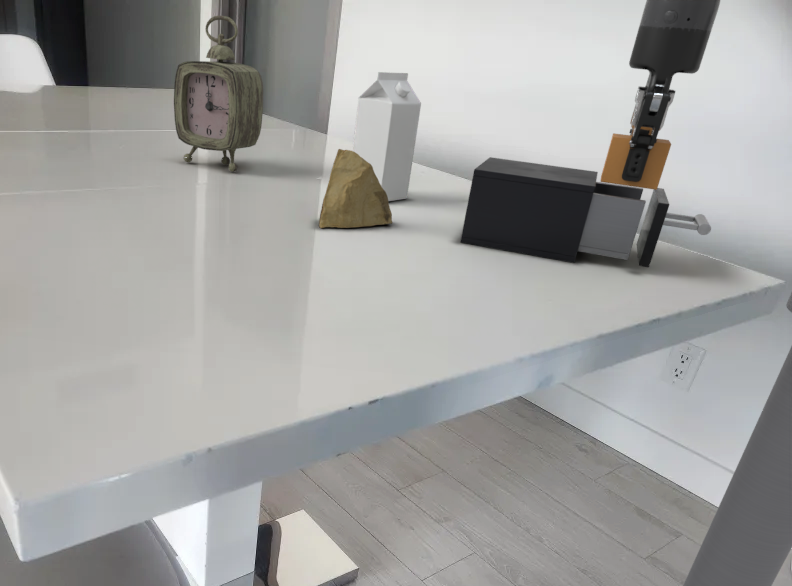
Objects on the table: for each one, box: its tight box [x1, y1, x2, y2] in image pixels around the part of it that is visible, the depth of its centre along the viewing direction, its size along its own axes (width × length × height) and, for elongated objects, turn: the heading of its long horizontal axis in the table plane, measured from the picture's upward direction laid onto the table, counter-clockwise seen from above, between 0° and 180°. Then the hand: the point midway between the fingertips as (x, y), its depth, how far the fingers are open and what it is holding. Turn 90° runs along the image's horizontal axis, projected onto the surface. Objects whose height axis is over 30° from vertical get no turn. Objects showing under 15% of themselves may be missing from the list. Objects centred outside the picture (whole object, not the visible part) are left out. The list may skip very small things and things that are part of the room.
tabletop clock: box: [173, 15, 264, 173], centre depth 121 cm, size 14×9×25 cm, turn 56°
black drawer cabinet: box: [460, 156, 599, 264], centre depth 91 cm, size 15×13×10 cm
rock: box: [318, 148, 393, 229], centre depth 93 cm, size 11×9×10 cm
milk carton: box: [352, 71, 422, 202], centre depth 108 cm, size 7×7×19 cm
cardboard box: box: [600, 133, 672, 190], centre depth 84 cm, size 6×5×5 cm
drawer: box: [577, 181, 712, 268], centre depth 87 cm, size 19×11×8 cm, turn 66°
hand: (630, 177), depth 85 cm, fingers closed on cardboard box, 4 cm apart
